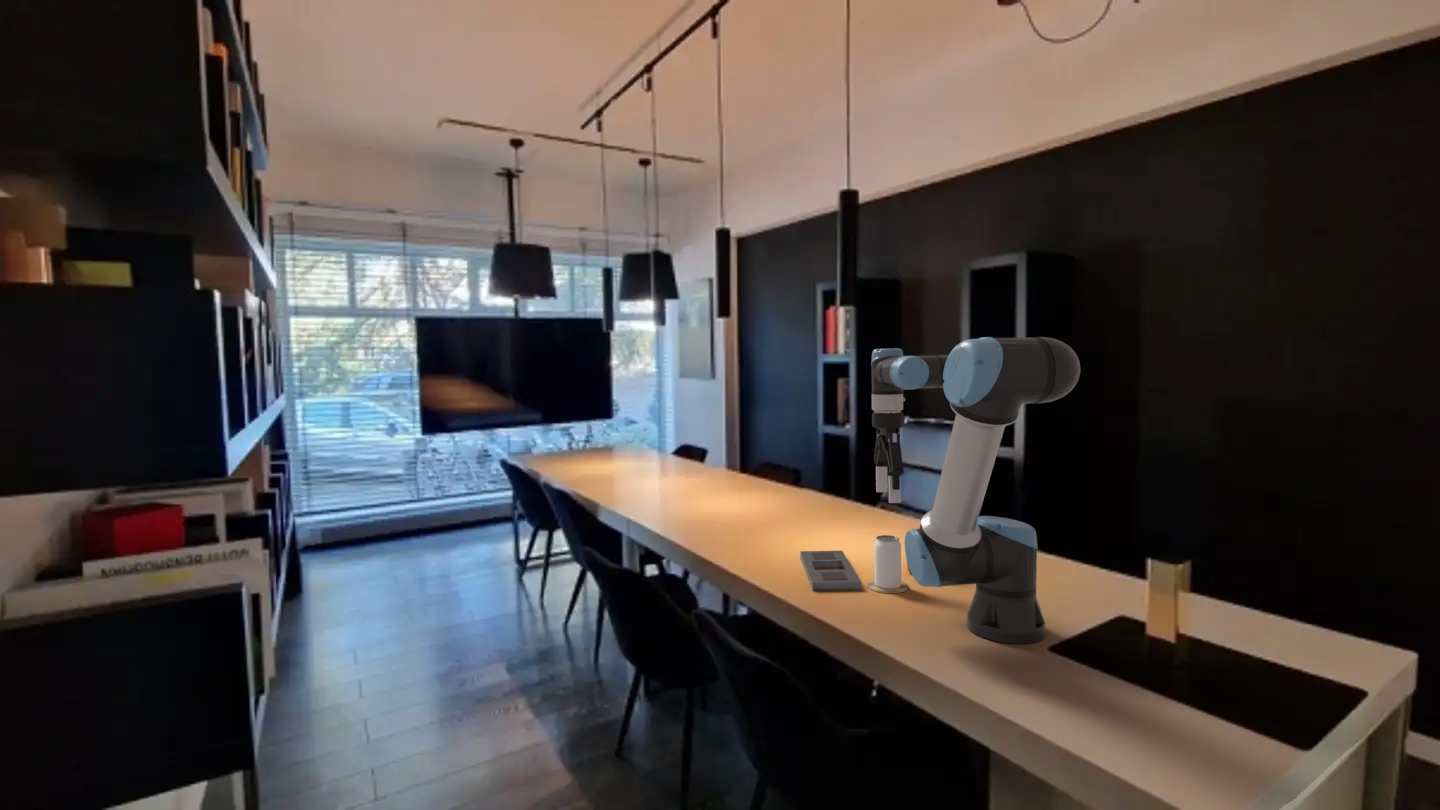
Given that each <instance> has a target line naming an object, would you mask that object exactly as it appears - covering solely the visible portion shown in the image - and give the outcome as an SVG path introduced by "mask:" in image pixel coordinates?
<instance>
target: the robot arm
mask: <svg viewBox="0 0 1440 810" xmlns="http://www.w3.org/2000/svg"><path fill="white" fill-rule="evenodd" d="M870 367H871V410H872V411H873V412H872V413H871V426H872V427H873V428H875V429H876V430H875V431H876V438H875V439H876V440H875V447H874V456H873V463H874V464H875V480H876V481H875V487H876V488H875V490H876V493H888V503H889V504H901V503H902V475H904V474H905V471H904V464H903V455H902V449H901V435H900V433H896V429H901V428H903V427H904V425H905V424H904V413H903V410H904V402H905V401H906V398H905V397H904V390H906V391H908V390H911V391H913V390H916V389H938V388H942V389H943V392H944V395H945V398H946V399H947V401H948V402H949V405H950V408H951V410H952V411H953V412H954V413H955V418H954V421H953V425H952V431H951V434H950V436H949V437H950V438H949V441H948V445H947V449H946V453H945V454H946V455H945V458H944V461H943V465H942V469H941V473H940V477H939V481H938V485H937V490H936V494H935V498H934V502H933V504H932V505H933V506H932V509H931V510H930V511H927V512H926V513H925V514H924V515H923V516H922V517H921V521H920V524H919V528H912V529H909V530H907V531H906V533H905V534H904V535H905V536H904V553H905V558H906V559H905V560H906V564H907V563H908V566H909V569H910V571H911V573H912V574H911V575H912V577H913V579H914V581H916V582H917V584H919V585H920V586H922V587H928V588H929V587H931V588H933V587H934V588H941V587H951V586H952V587H953V586H963V585H975V591H974V594H973V597H972V599H971V603H970V606H969V609H968V611H967V615H966V626H967V628H968V630H969V631H971V632H972V633H974V634H975V635H977V636H979V637H981V638H984V639H987V640H990V641H994V642H999V643H1006V644H1031V643H1035V642H1038V641H1042V640H1043V639H1044V638H1045V636H1046V622H1045V619H1044V616H1043V613H1042V610H1041V606H1040V604H1039V601H1038V598H1037V573H1038V572H1037V569H1038V567H1037V559H1038V558H1037V557H1038V556H1037V554H1038V549H1039V546H1038V540H1037V539H1038V537H1037V532H1036V529H1035V527H1033V526H1032V525H1030V524H1028V523H1026V522H1023V521H1020V520H1016V519H1012V518H1007V517H1000V516H993V515H980V513H981V510H982V506H983V503H984V500H985V499H984V498H985V495H986V493H987V489H988V487H989V486H988V485H989V482H990V478H991V476H992V472H993V469H994V466H995V463H996V462H995V461H996V458H997V455H998V451H999V448H1000V445H1001V442H1002V439H1003V434H1004V431H1005V428H1006V427H1007V426H1011V425H1013V424H1014V423H1016V421H1017V420H1018V415H1019V414H1020V410H1021V407H1022V406H1023V405H1026V404H1027V405H1029V404H1044V403H1052V402H1054V401H1057V400H1059V399H1062V398H1063V397H1065V396H1067V395H1068V394H1069V393H1071V391H1073V389H1074V388H1075V387H1076V385H1077V383H1078V382H1079V379H1080V375H1081V364H1080V360H1079V357H1078V355H1077V354H1076V352H1075V350H1073V348H1072V347H1071V346H1070V345H1068V344H1067V343H1065V342H1063V341H1061V340H1059V339H1056V338H1052V337H1046V336H1035V337H1034V336H1033V337H993V336H985V337H979V338H971V339H965V340H963V341H961V342H960V343H958V344H956V345H955V346H954V347H953V348H952V350H951V351H950V353H949V354H948V355H947V354H946V355H904V351H903V349H902V348H896V347H894V348H875V349H873V351H872V353H871V363H870ZM888 469H889V471H888Z"/></svg>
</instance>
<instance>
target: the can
mask: <svg viewBox="0 0 1440 810" xmlns="http://www.w3.org/2000/svg"><path fill="white" fill-rule="evenodd" d="M873 548H874V551H873V552H874V580H875V585H876V586H877V587H879V588H883V589H897V588H899V587H900V586H901V581H902V544H901V541H900V537H898V536H897V535H890V534H889V535H888V534H883V535H882V534H881V535H877V536H876V538H875V542H874V547H873Z"/></svg>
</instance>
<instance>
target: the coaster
mask: <svg viewBox="0 0 1440 810" xmlns="http://www.w3.org/2000/svg"><path fill="white" fill-rule="evenodd" d="M867 588H868V589H869V590H871V591H873V592H875V593H880V594H887V595H889V594H890V595H891V594H902V593H905V592H908V591H909V589H910V588H909V585H908V584H907V582H904V581H902V580H901V586H900V587H899V588H897V589H883V588H879V587H877V586H876V585H875V579H873V580H870V581H868V582H867Z"/></svg>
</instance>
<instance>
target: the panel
mask: <svg viewBox="0 0 1440 810" xmlns="http://www.w3.org/2000/svg"><path fill="white" fill-rule="evenodd" d="M799 552H800V553H799V554H800V555H799V556H800V561H801V564H802V567H803V568H804V571H805V573H806V577H807V579H808V582H809V585H810V588H811V590H812V592H822V591H823V592H824V591H827V592H828V591H831V592H832V591H862V581H861V580H860V577H859V576H858V574H857V572H856V571H855V570H854V567H853V566H852V564H851V562H850V561H849V560H848V558H847V556H846V554H845V553H844V551H843V550H802V551H799ZM816 569H817V570H816ZM818 569H819V570H818ZM821 569H822V570H821ZM825 569H826V570H825Z"/></svg>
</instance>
